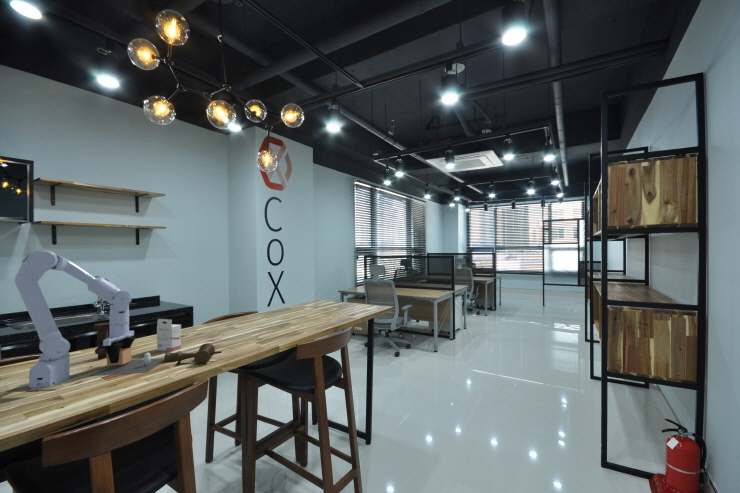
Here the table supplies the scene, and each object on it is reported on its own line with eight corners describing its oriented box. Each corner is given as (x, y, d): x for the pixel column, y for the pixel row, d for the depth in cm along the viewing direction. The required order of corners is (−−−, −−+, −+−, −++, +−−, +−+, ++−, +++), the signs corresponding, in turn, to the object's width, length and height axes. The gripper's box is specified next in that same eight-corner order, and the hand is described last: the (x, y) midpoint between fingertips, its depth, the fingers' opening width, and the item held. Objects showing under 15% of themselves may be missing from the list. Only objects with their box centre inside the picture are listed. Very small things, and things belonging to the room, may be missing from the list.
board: (147, 376, 111) (147, 359, 112) (89, 380, 109) (89, 362, 109) (169, 361, 127) (169, 346, 127) (119, 364, 125) (119, 348, 125)
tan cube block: (122, 364, 117) (122, 352, 117) (106, 365, 117) (106, 352, 117) (131, 360, 122) (131, 348, 123) (116, 360, 122) (116, 348, 122)
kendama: (169, 362, 129) (224, 355, 134) (161, 371, 119) (220, 363, 125) (169, 347, 129) (223, 341, 134) (160, 354, 119) (219, 348, 125)
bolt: (115, 359, 131) (115, 322, 131) (103, 363, 126) (103, 325, 126) (102, 359, 132) (102, 322, 132) (90, 363, 127) (90, 325, 127)
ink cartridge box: (182, 351, 141) (181, 317, 141) (172, 355, 136) (171, 319, 136) (166, 350, 143) (166, 316, 143) (156, 353, 138) (156, 319, 139)
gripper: (118, 326, 113) (118, 366, 113) (142, 318, 128) (142, 353, 127) (96, 327, 112) (96, 367, 112) (122, 319, 127) (122, 354, 126)
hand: (119, 360), depth 120 cm, fingers closed on tan cube block, 5 cm apart
